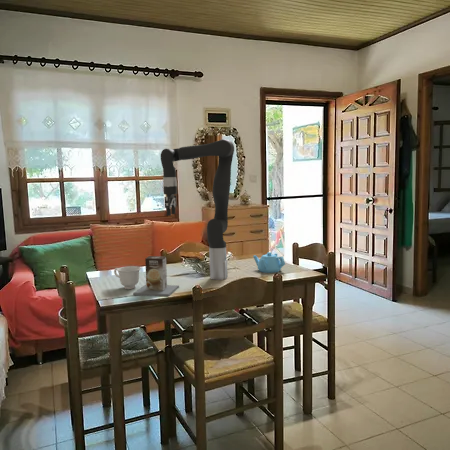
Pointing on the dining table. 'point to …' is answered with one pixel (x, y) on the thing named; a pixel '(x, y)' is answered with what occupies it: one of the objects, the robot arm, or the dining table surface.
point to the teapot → (269, 263)
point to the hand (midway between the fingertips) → (171, 214)
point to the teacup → (128, 276)
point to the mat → (166, 292)
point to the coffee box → (156, 273)
